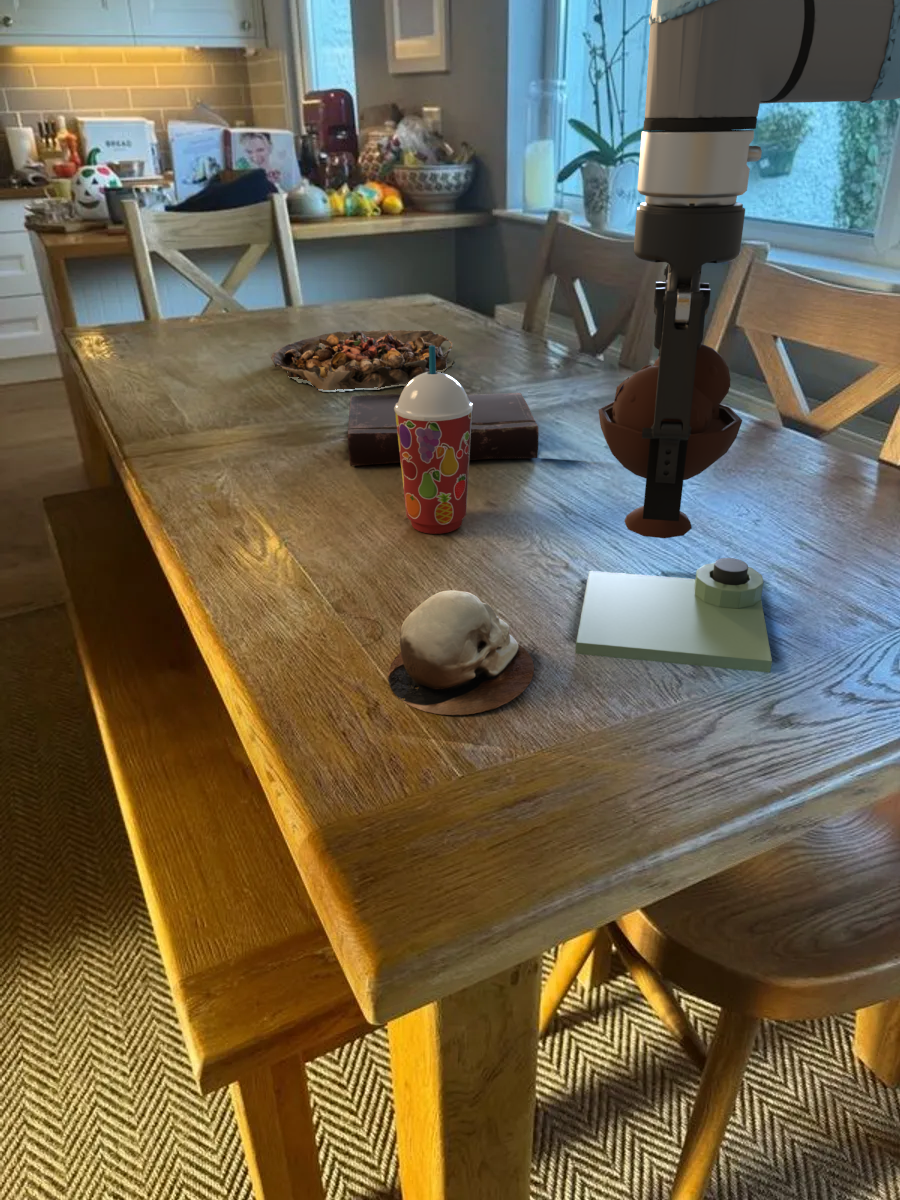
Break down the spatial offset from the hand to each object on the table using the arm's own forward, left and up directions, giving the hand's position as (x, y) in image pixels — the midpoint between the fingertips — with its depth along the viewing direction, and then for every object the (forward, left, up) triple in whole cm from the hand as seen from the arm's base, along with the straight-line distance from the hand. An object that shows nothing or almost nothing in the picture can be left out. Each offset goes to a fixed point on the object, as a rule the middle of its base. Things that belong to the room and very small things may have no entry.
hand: (661, 491), depth 74 cm
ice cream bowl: (0, 0, -3) cm, 3 cm away
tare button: (-7, -7, -11) cm, 14 cm away
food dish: (+53, -88, -14) cm, 104 cm away
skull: (+15, +10, -14) cm, 23 cm away
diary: (+30, -48, -14) cm, 58 cm away
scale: (-2, -2, -13) cm, 14 cm away
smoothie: (+24, -20, -14) cm, 34 cm away
